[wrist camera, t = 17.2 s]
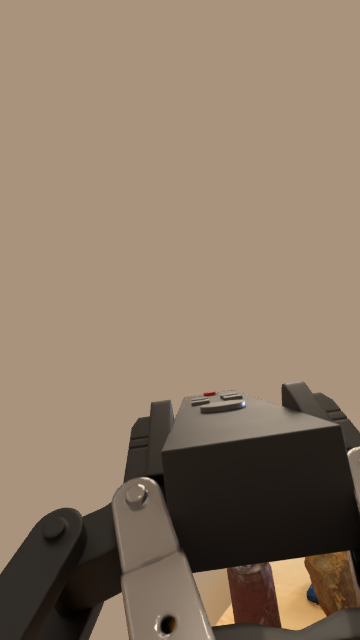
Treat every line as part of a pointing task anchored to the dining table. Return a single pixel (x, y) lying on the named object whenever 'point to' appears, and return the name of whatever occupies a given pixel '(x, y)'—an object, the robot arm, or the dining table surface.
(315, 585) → the rough brown rock
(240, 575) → the can
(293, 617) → the dining table surface
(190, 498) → the remote
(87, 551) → the robot arm
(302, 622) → the dining table surface
